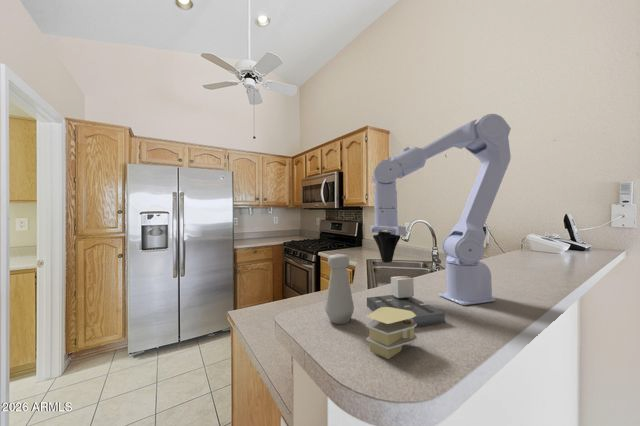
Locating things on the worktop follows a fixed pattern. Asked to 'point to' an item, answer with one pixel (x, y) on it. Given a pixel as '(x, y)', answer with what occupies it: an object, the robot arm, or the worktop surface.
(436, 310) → the console
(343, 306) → the salt shaker
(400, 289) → the white striped block
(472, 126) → the robot arm
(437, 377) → the worktop surface
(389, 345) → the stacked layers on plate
